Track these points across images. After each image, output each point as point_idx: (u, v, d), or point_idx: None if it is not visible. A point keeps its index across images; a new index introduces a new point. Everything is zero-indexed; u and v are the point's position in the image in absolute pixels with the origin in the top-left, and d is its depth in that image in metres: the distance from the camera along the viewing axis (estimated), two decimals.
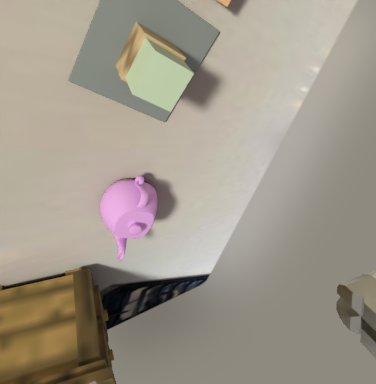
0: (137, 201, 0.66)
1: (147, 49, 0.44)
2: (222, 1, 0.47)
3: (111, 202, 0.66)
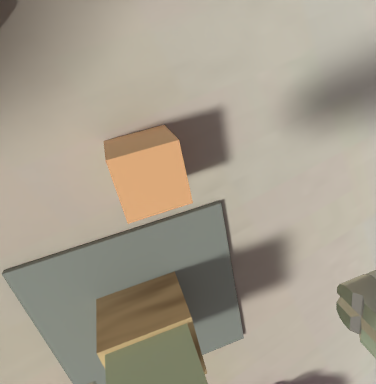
0: None
1: None
2: (177, 205, 0.22)
3: None
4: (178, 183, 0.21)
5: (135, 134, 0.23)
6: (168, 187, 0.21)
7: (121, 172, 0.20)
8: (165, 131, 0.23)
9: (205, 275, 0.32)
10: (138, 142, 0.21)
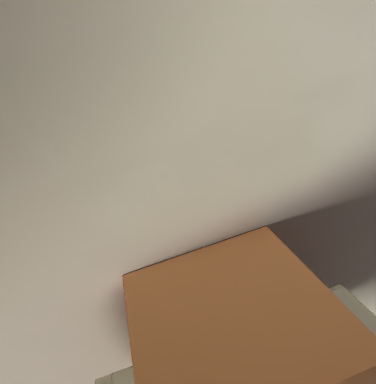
0: None
1: None
2: None
3: None
4: None
5: (204, 262, 0.09)
6: None
7: None
8: (293, 267, 0.08)
9: None
10: (233, 321, 0.07)
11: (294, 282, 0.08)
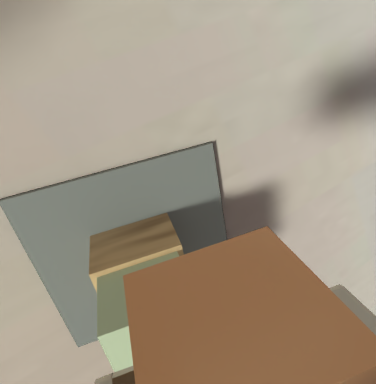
0: None
1: None
2: None
3: None
4: None
5: (205, 262, 0.09)
6: None
7: None
8: (293, 267, 0.08)
9: (197, 219, 0.32)
10: (234, 321, 0.07)
11: (295, 282, 0.08)
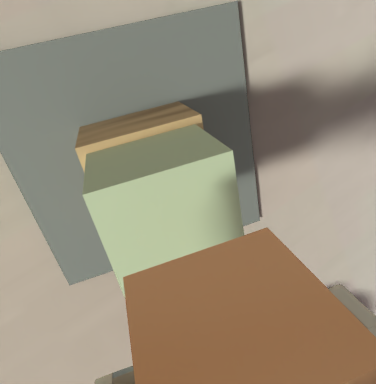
0: None
1: None
2: None
3: None
4: None
5: (205, 264, 0.09)
6: None
7: None
8: (293, 268, 0.08)
9: (216, 115, 0.26)
10: (234, 323, 0.07)
11: (295, 284, 0.08)
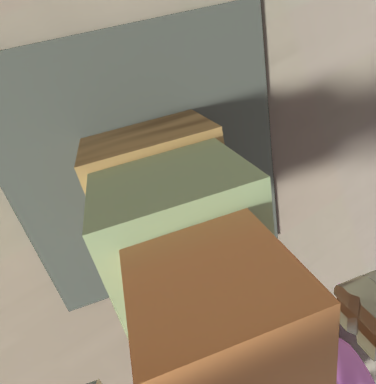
0: None
1: None
2: None
3: None
4: None
5: (190, 238, 0.10)
6: None
7: None
8: (266, 240, 0.10)
9: (233, 124, 0.23)
10: (212, 282, 0.08)
11: (266, 251, 0.09)
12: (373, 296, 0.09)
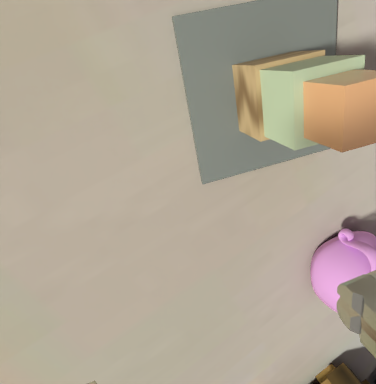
0: (365, 265, 0.44)
1: (276, 80, 0.28)
2: None
3: (331, 284, 0.46)
4: None
5: (334, 75, 0.25)
6: None
7: (352, 99, 0.22)
8: (369, 70, 0.24)
9: None
10: (354, 77, 0.23)
11: (371, 71, 0.24)
12: None
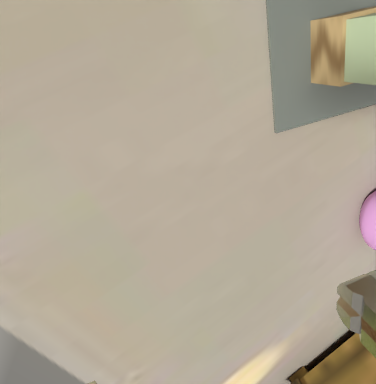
0: None
1: (367, 25, 0.32)
2: None
3: None
4: None
5: None
6: None
7: None
8: None
9: None
10: None
11: None
12: None
